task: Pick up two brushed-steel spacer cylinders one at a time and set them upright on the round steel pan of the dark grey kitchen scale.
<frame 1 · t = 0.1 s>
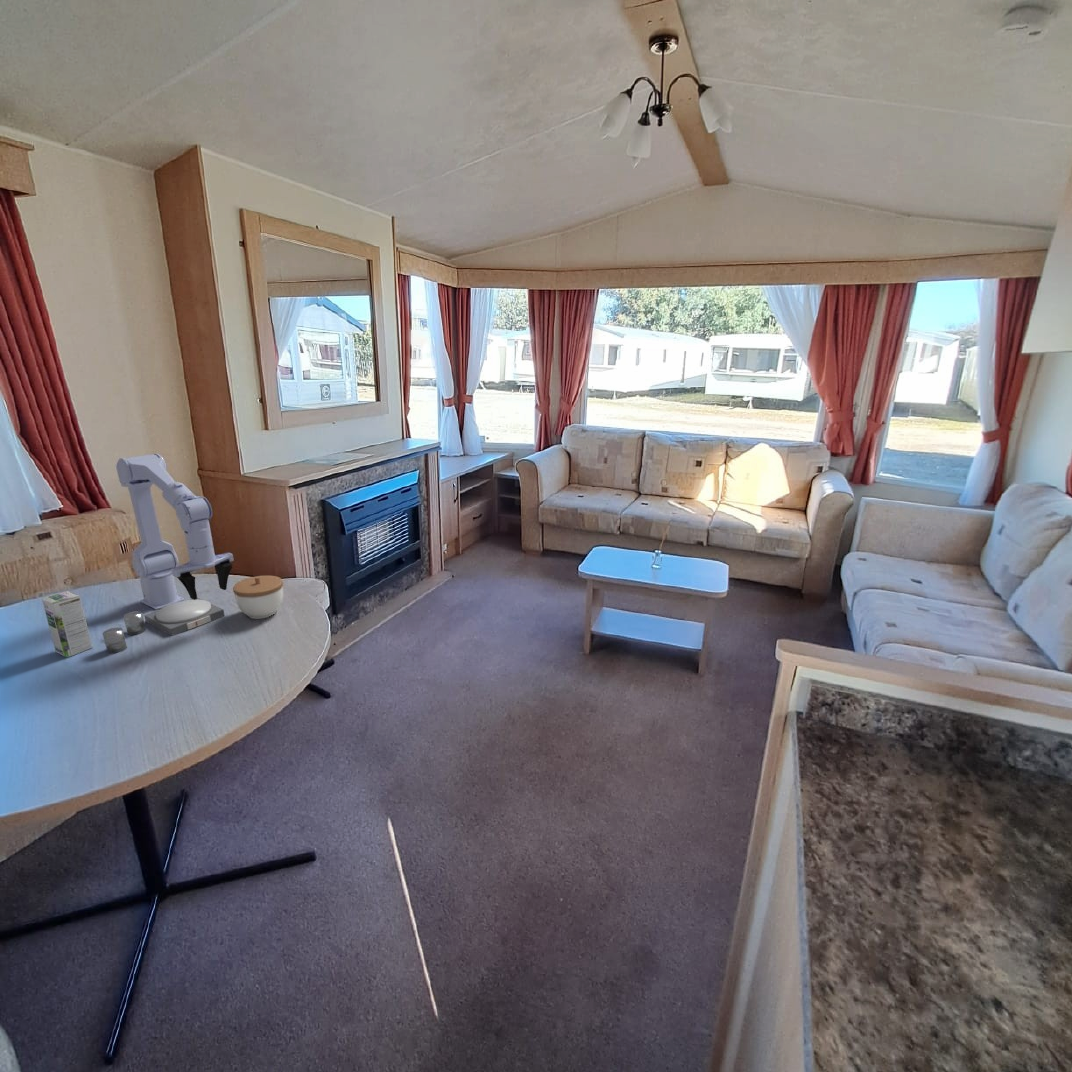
hand: (208, 593, 149), 10 cm above the table, fingers open, 7 cm apart
syrup box: (74, 650, 140), on the table
scale: (185, 618, 157), on the table
spacer 1: (136, 631, 149), on the table
spacer 2: (117, 649, 141), on the table
lidded bowl: (262, 613, 161), on the table
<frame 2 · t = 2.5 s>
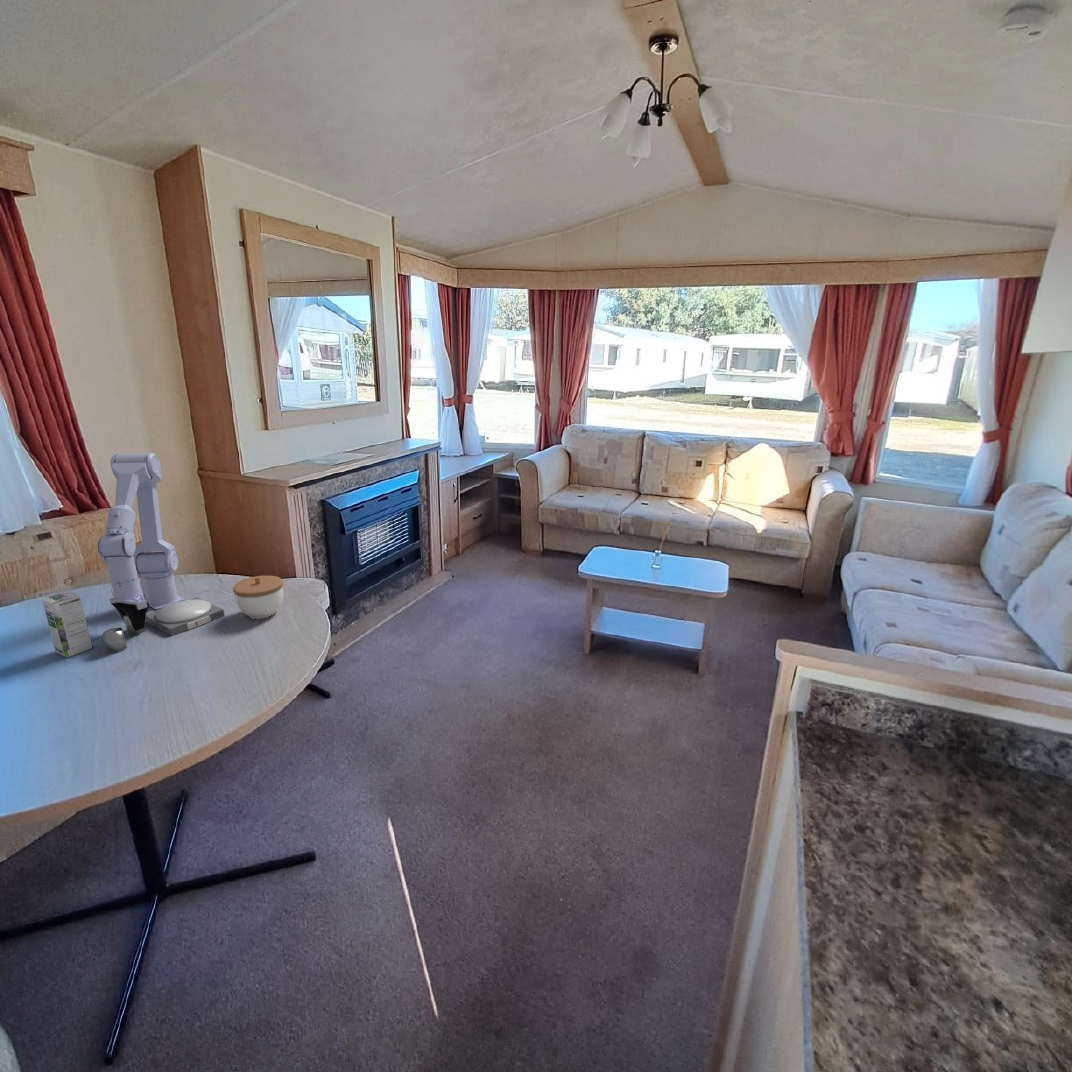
hand: (135, 626, 149), 1 cm above the table, fingers closed on spacer 1, 4 cm apart
spacer 1: (136, 631, 149), on the table, touching gripper
everything else where it was.
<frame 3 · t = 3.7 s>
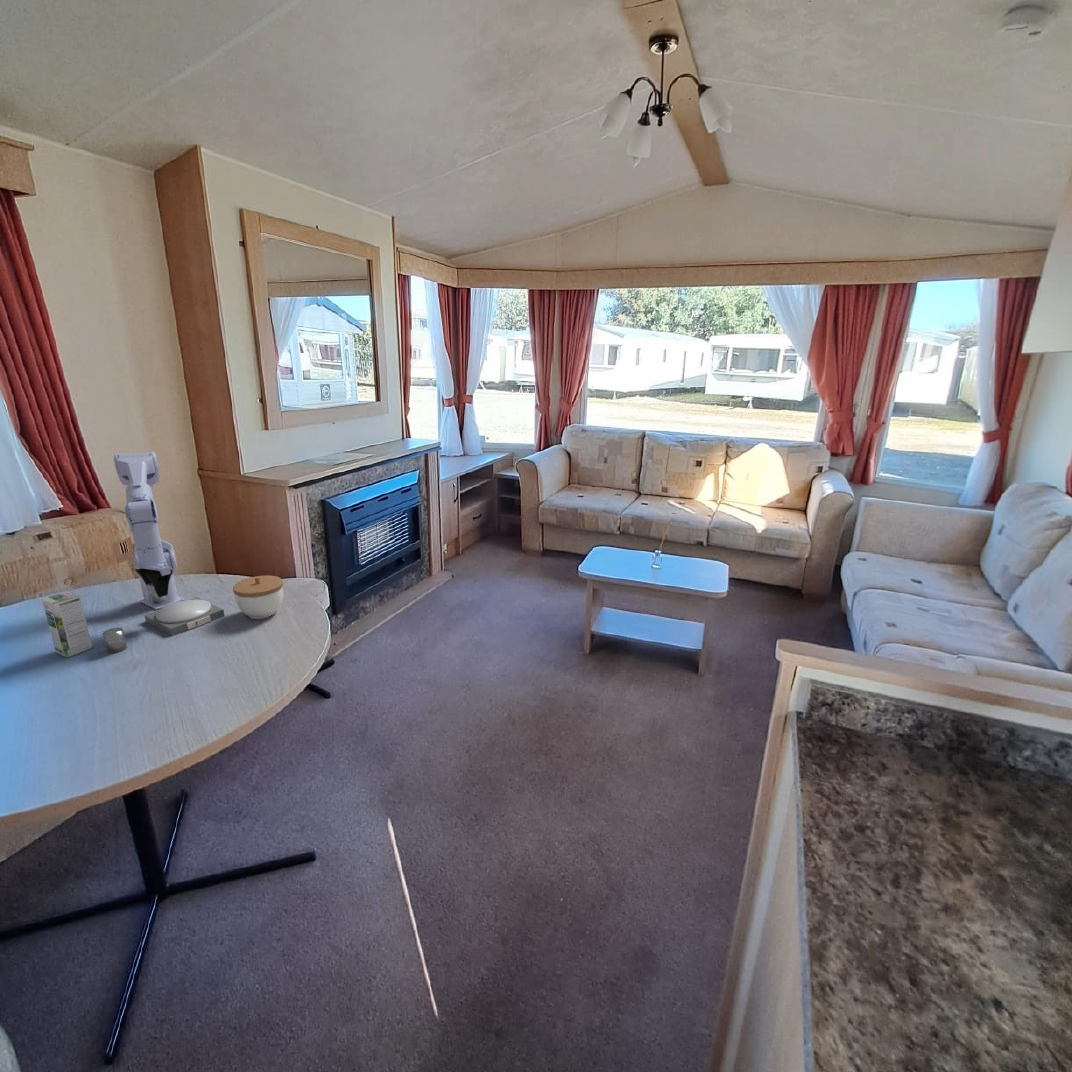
hand: (158, 593, 151), 9 cm above the table, fingers closed on spacer 1, 4 cm apart
spacer 1: (158, 601, 151), point 7 cm above the table, touching gripper
everything else where it was.
when the fingers open (5 cm above the table, at t = 5.2 s): spacer 1 stays where it is, resting on scale.
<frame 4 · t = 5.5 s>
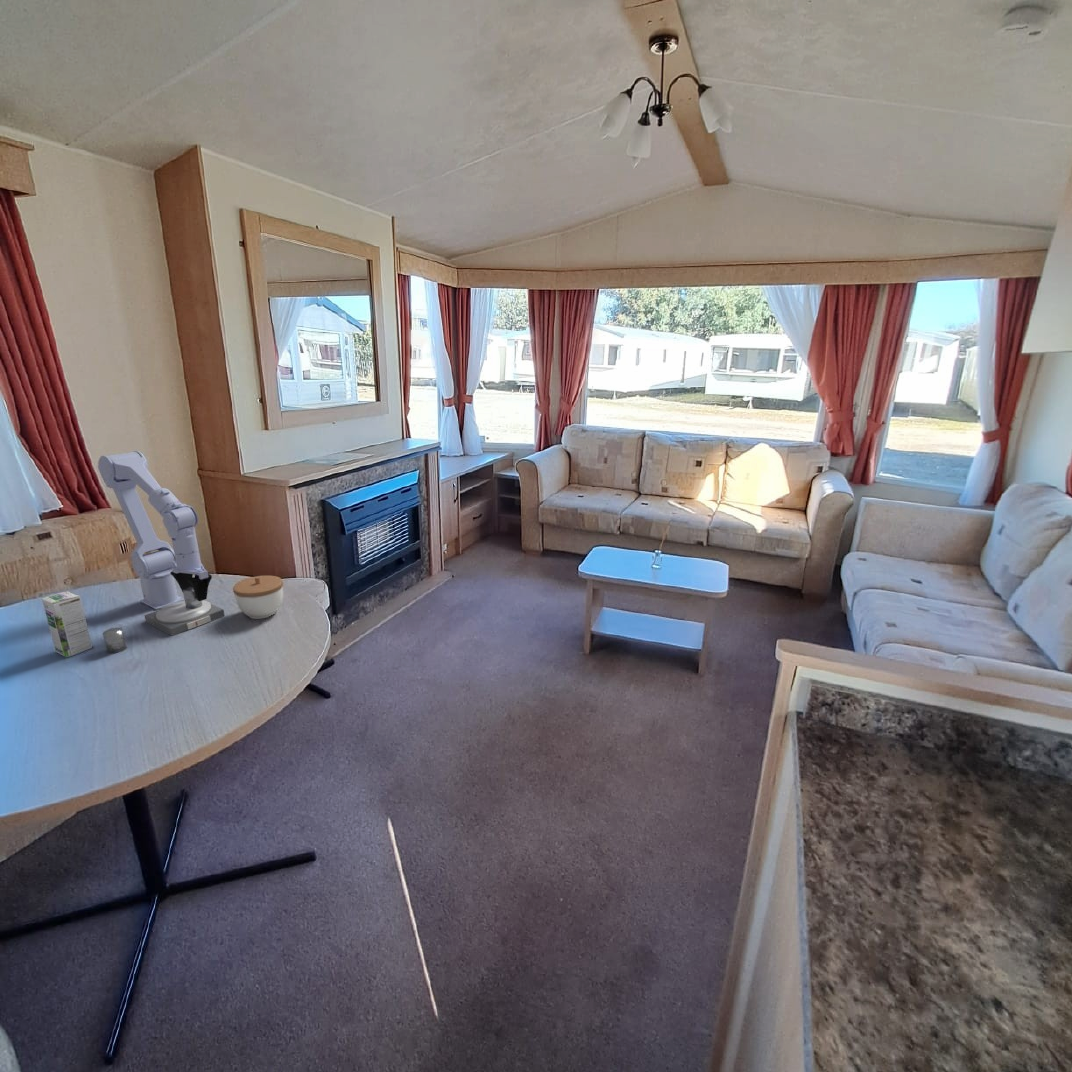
hand: (195, 596, 158), 5 cm above the table, fingers open, 7 cm apart
spacer 1: (194, 605, 158), point 3 cm above the table, touching scale
everything else where it was.
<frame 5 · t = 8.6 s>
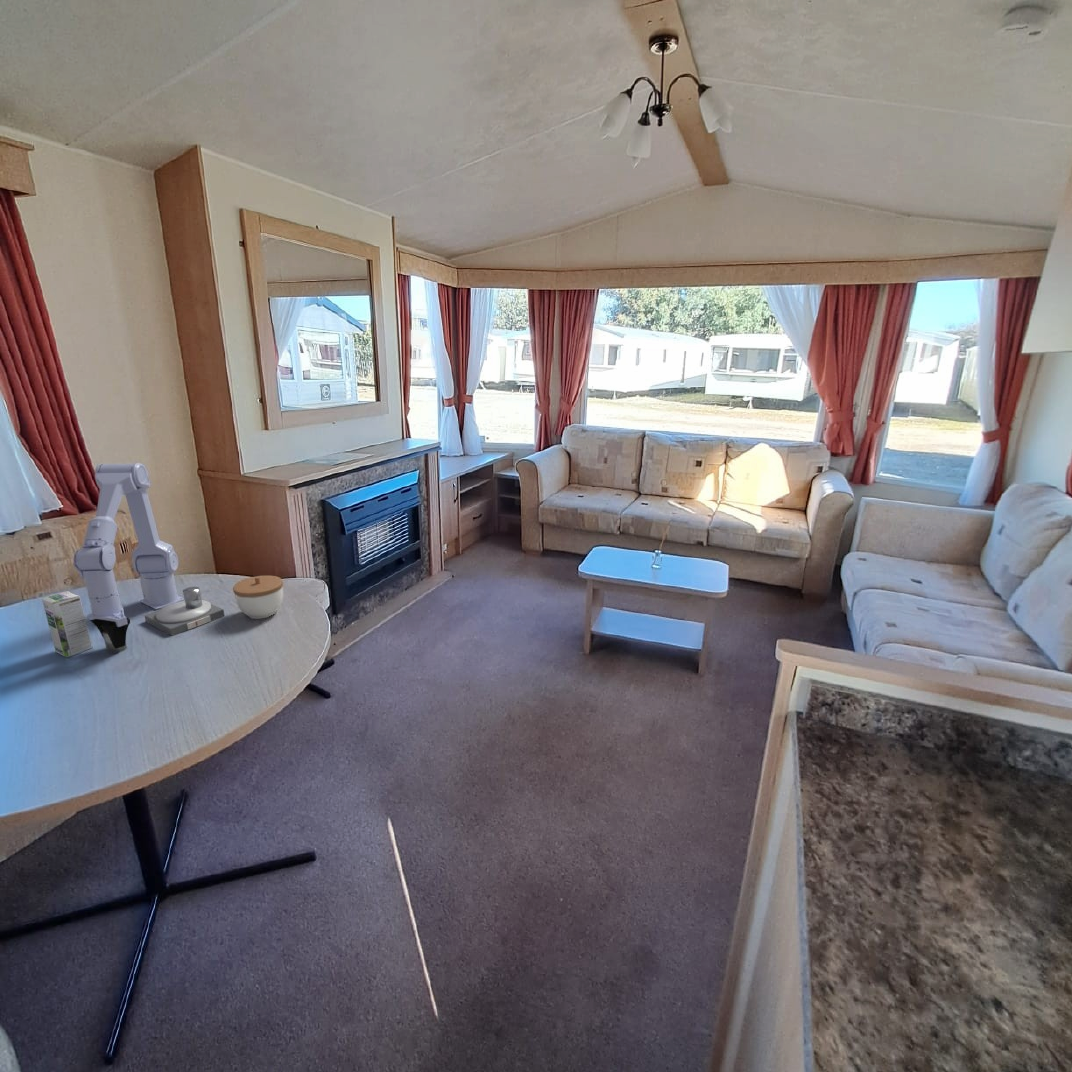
hand: (115, 644, 140), 1 cm above the table, fingers closed on spacer 2, 4 cm apart
spacer 2: (117, 649, 141), on the table, touching gripper
everything else where it was.
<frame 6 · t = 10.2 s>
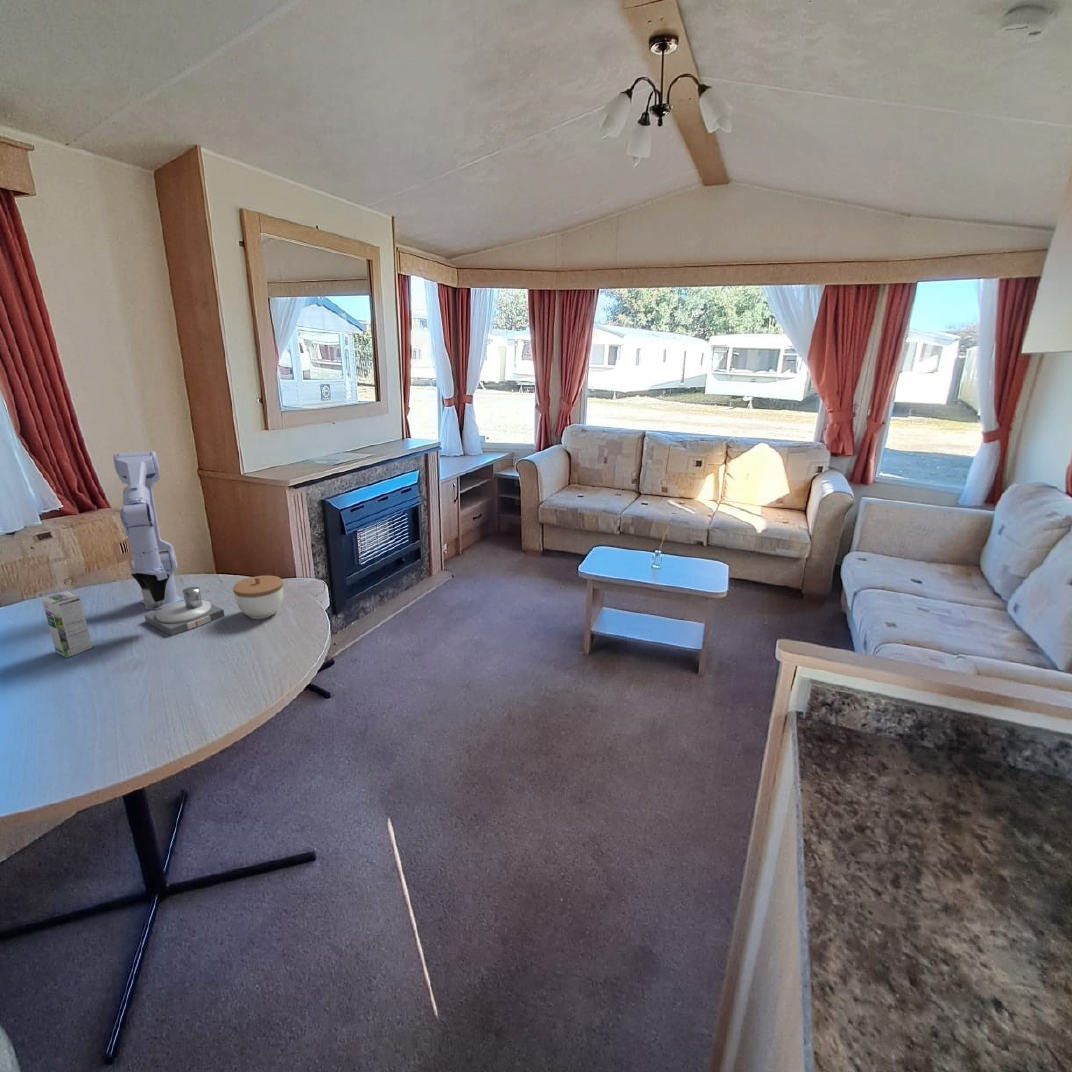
hand: (155, 598, 148), 9 cm above the table, fingers closed on spacer 2, 4 cm apart
spacer 2: (154, 605, 149), point 7 cm above the table, touching gripper
everything else where it was.
when the fingers open (5 cm above the table, at t = 11.5 s): spacer 2 stays where it is, resting on scale.
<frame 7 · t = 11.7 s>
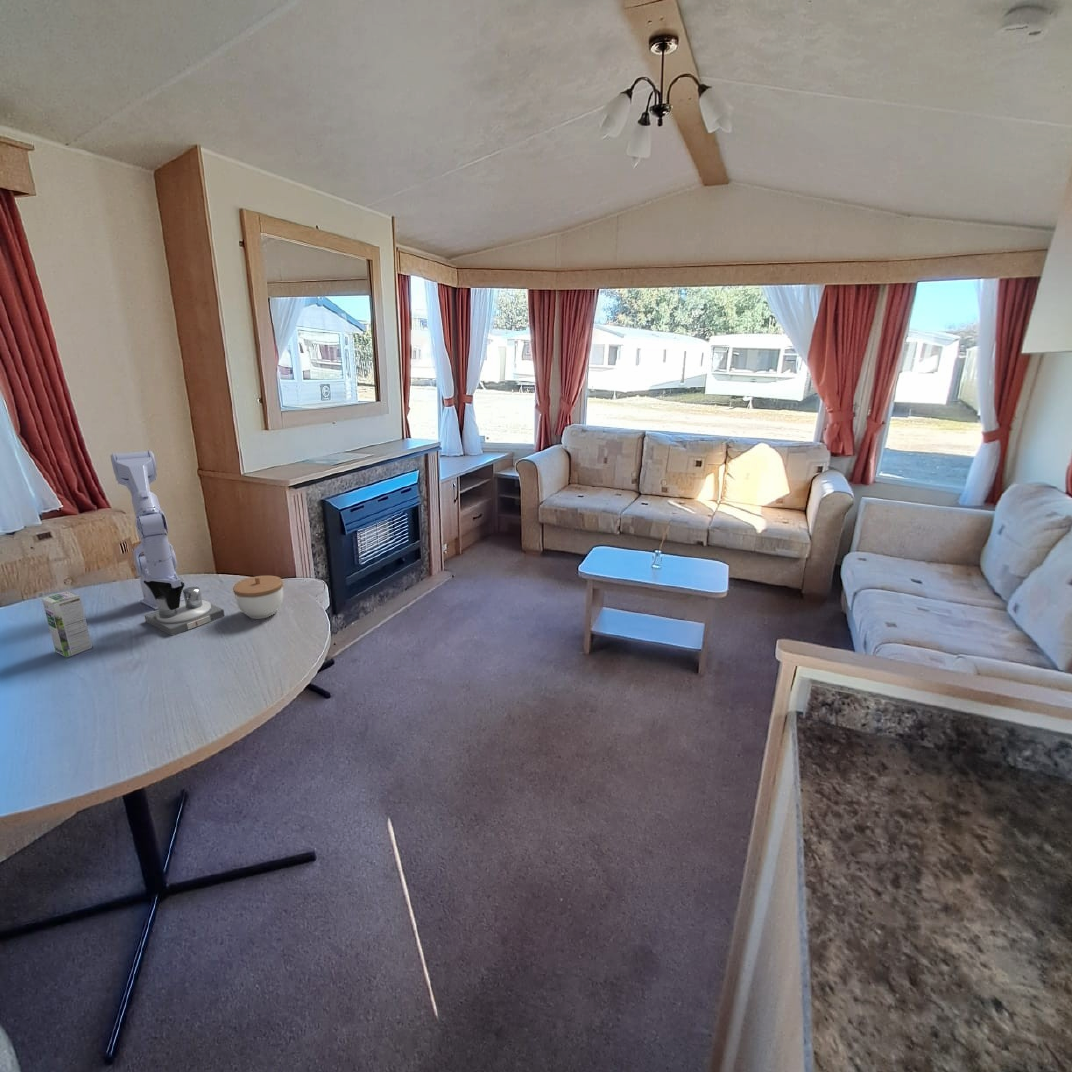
hand: (168, 605, 152), 5 cm above the table, fingers open, 6 cm apart
spacer 2: (168, 615, 153), point 3 cm above the table, touching scale
everything else where it was.
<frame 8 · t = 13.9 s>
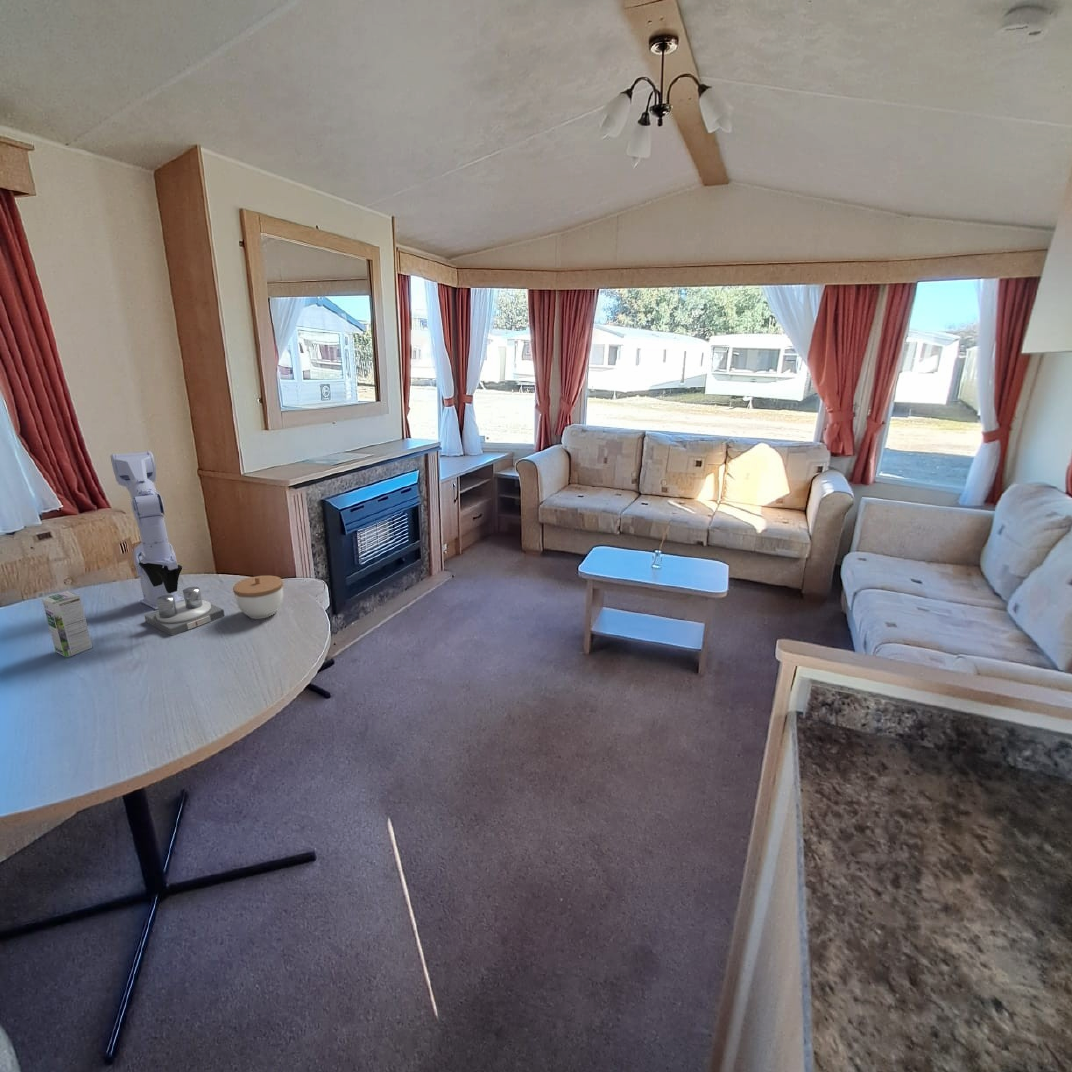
hand: (165, 588, 150), 10 cm above the table, fingers open, 7 cm apart
nothing on the table moved.
at the end: spacer 1 inside the target area on the scale (2.8 cm from its centre), point 2.8 cm above the scale's base; spacer 2 inside the target area on the scale (4.0 cm from its centre), point 2.8 cm above the scale's base; spacer 2 tilted 0° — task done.
